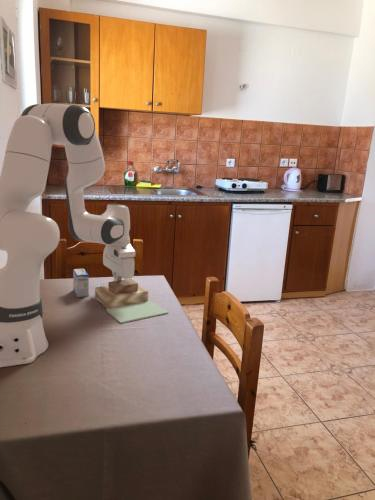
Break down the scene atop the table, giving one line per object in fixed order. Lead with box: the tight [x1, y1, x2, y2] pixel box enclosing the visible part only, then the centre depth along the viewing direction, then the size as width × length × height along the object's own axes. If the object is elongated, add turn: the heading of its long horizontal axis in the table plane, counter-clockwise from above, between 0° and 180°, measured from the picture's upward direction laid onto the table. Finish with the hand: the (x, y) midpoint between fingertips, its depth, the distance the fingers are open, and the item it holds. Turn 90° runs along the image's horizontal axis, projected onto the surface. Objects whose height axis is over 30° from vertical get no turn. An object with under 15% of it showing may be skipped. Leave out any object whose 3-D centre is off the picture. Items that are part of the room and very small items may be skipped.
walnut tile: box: [107, 278, 139, 295], centre depth 152 cm, size 9×6×3 cm, turn 124°
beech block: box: [94, 284, 149, 309], centre depth 154 cm, size 16×12×4 cm
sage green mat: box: [105, 300, 169, 325], centre depth 144 cm, size 18×12×1 cm, turn 123°
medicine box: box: [72, 268, 90, 298], centre depth 158 cm, size 8×4×9 cm, turn 25°
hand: (117, 282), depth 155 cm, fingers closed
